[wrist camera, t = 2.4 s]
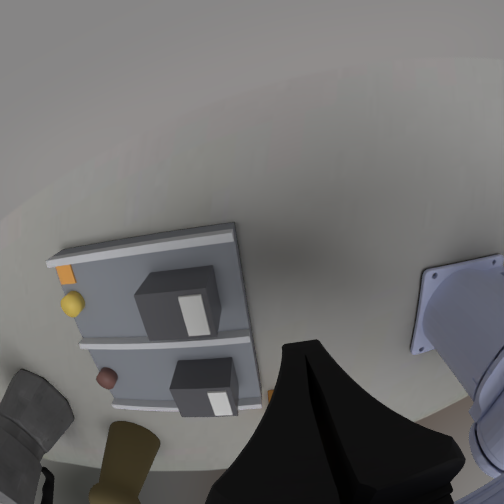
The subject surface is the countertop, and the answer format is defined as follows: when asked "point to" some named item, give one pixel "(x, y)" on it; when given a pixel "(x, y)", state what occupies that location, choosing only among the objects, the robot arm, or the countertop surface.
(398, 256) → the countertop surface
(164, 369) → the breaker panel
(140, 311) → the toggle
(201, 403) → the toggle
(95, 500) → the cork
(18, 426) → the coffeepot
